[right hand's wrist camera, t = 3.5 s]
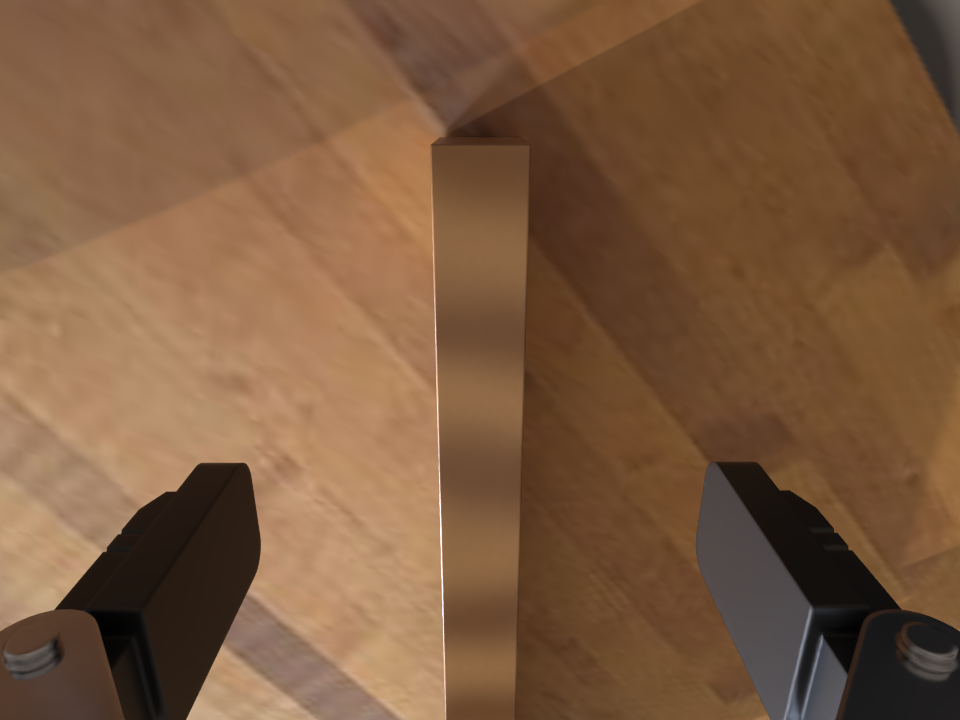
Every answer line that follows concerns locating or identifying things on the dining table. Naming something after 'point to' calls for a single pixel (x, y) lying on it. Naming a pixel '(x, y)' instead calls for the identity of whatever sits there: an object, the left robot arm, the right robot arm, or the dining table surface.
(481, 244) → the beam
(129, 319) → the dining table surface
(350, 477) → the dining table surface
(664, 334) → the dining table surface
